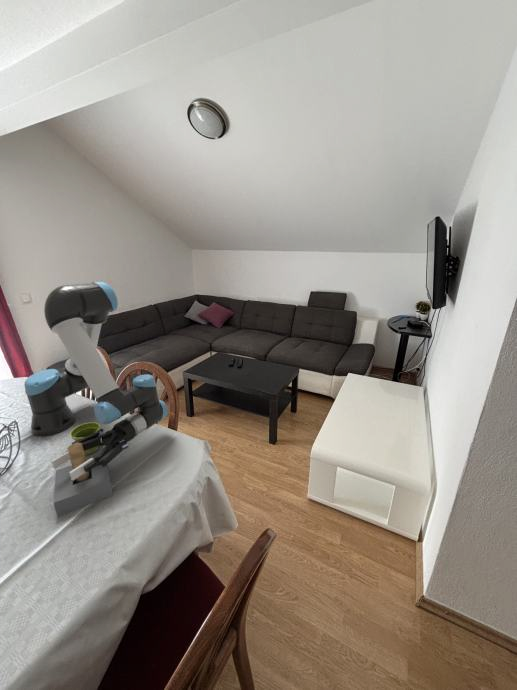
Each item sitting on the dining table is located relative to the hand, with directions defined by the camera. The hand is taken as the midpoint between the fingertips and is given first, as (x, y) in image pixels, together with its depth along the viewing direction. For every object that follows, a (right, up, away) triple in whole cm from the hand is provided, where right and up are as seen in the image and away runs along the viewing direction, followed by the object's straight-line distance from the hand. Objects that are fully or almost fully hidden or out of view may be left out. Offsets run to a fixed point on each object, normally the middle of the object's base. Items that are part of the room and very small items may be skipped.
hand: (61, 470), depth 81 cm
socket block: (+2, -9, +7) cm, 12 cm away
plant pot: (-7, -3, +25) cm, 26 cm away
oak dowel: (+2, -8, +7) cm, 11 cm away
